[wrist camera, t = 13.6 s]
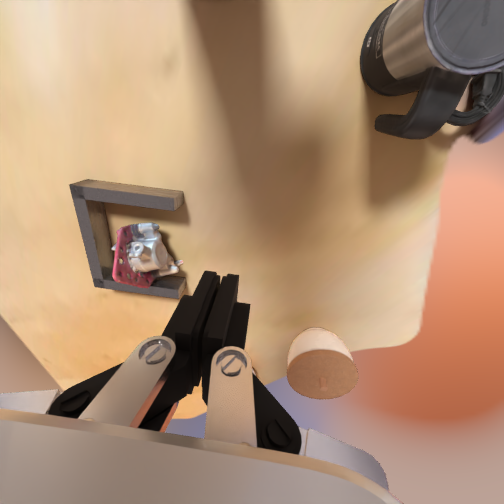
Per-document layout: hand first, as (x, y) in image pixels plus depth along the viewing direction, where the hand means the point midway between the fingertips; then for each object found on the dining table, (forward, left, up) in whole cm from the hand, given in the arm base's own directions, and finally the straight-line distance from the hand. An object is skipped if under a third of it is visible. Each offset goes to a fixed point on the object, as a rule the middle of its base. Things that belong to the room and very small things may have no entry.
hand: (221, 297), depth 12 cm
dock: (+13, -19, -29) cm, 37 cm away
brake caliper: (+14, -18, -29) cm, 37 cm away
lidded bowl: (+32, +16, -29) cm, 46 cm away
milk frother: (-16, +19, -29) cm, 38 cm away
